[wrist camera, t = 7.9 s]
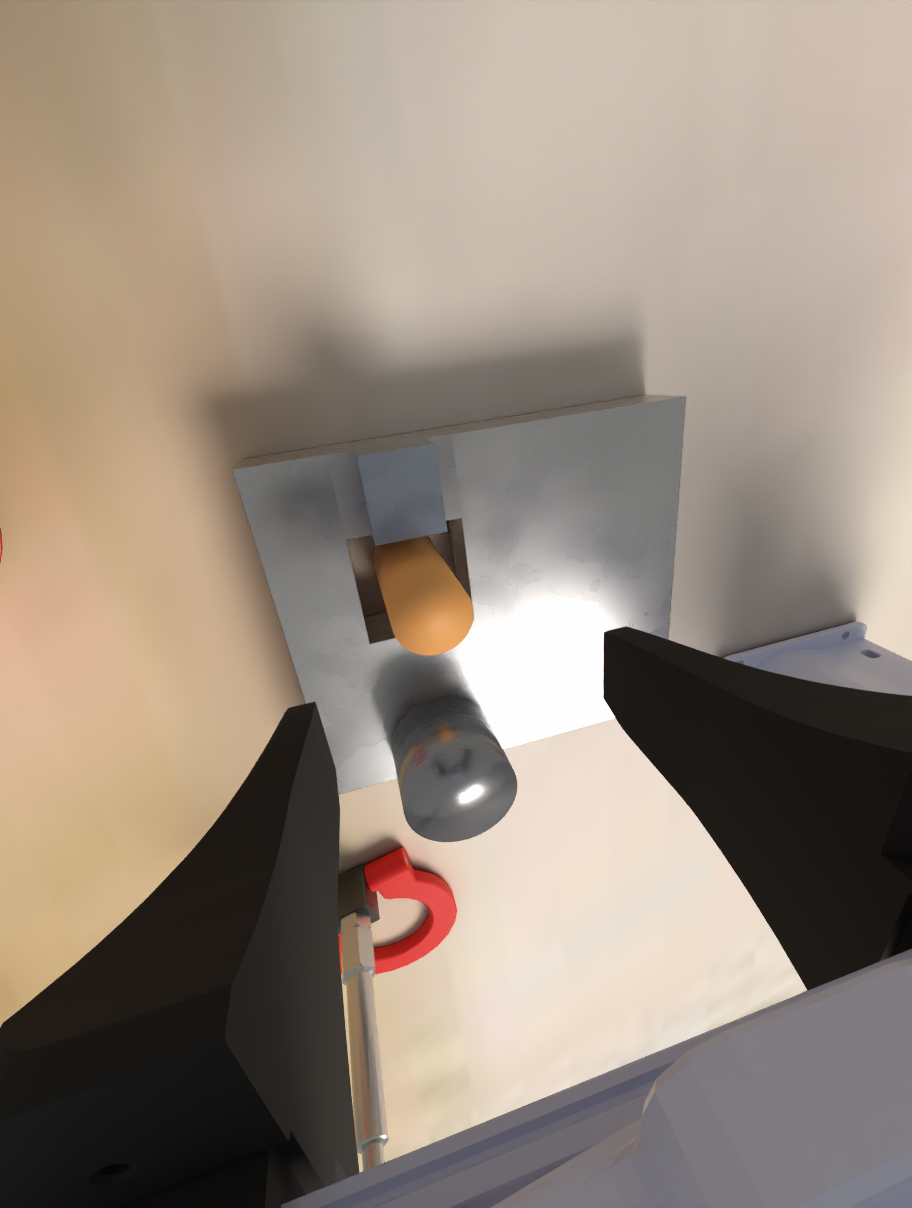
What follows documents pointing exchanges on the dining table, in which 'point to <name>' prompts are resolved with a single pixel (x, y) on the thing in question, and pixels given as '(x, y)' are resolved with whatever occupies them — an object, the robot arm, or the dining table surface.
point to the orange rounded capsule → (422, 596)
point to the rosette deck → (471, 588)
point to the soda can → (0, 545)
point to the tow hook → (365, 961)
